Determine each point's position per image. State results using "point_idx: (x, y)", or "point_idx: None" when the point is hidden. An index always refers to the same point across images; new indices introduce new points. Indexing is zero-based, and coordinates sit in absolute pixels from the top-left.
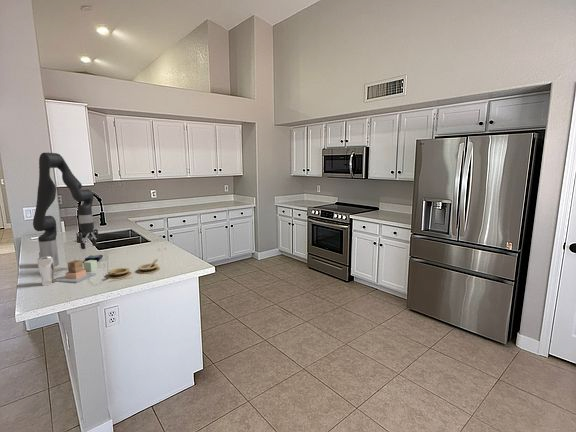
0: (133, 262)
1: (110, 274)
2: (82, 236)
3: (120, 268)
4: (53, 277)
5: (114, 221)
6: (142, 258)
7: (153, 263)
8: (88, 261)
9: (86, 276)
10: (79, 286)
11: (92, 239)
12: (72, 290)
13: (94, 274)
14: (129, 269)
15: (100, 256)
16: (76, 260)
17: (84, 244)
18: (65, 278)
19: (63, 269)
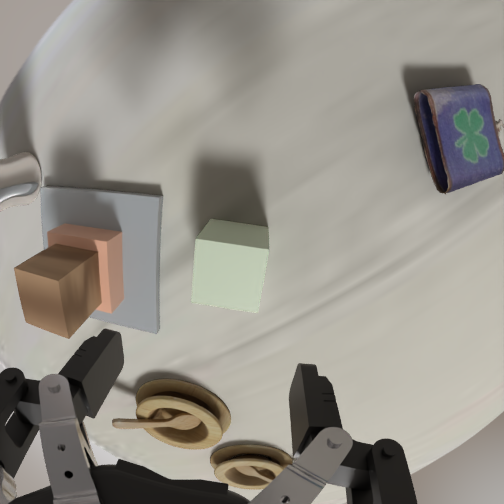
0: (380, 386)
1: (136, 409)
2: (63, 476)
3: (208, 424)
4: (13, 204)
5: None
6: (438, 382)
7: None
8: (221, 265)
9: (105, 314)
10: (43, 331)
11: (316, 437)
12: (19, 327)
13: (147, 329)
14: (202, 448)
15: (475, 181)
16: (57, 298)
17: (95, 402)
18: (60, 224)
19: (248, 37)
